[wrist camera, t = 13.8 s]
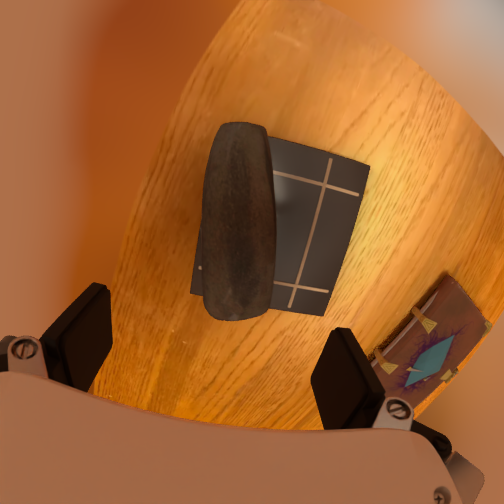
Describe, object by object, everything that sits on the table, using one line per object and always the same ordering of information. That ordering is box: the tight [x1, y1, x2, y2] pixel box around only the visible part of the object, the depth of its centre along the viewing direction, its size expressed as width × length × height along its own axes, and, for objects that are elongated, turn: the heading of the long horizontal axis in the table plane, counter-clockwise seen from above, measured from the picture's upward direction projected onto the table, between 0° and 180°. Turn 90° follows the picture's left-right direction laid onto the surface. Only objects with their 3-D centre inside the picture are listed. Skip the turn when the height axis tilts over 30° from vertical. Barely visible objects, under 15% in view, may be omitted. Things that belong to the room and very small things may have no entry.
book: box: [370, 275, 492, 411], centre depth 31 cm, size 16×25×5 cm, turn 145°
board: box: [190, 136, 370, 316], centre depth 26 cm, size 14×16×1 cm
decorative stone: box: [201, 122, 277, 321], centre depth 23 cm, size 17×6×4 cm, turn 178°
